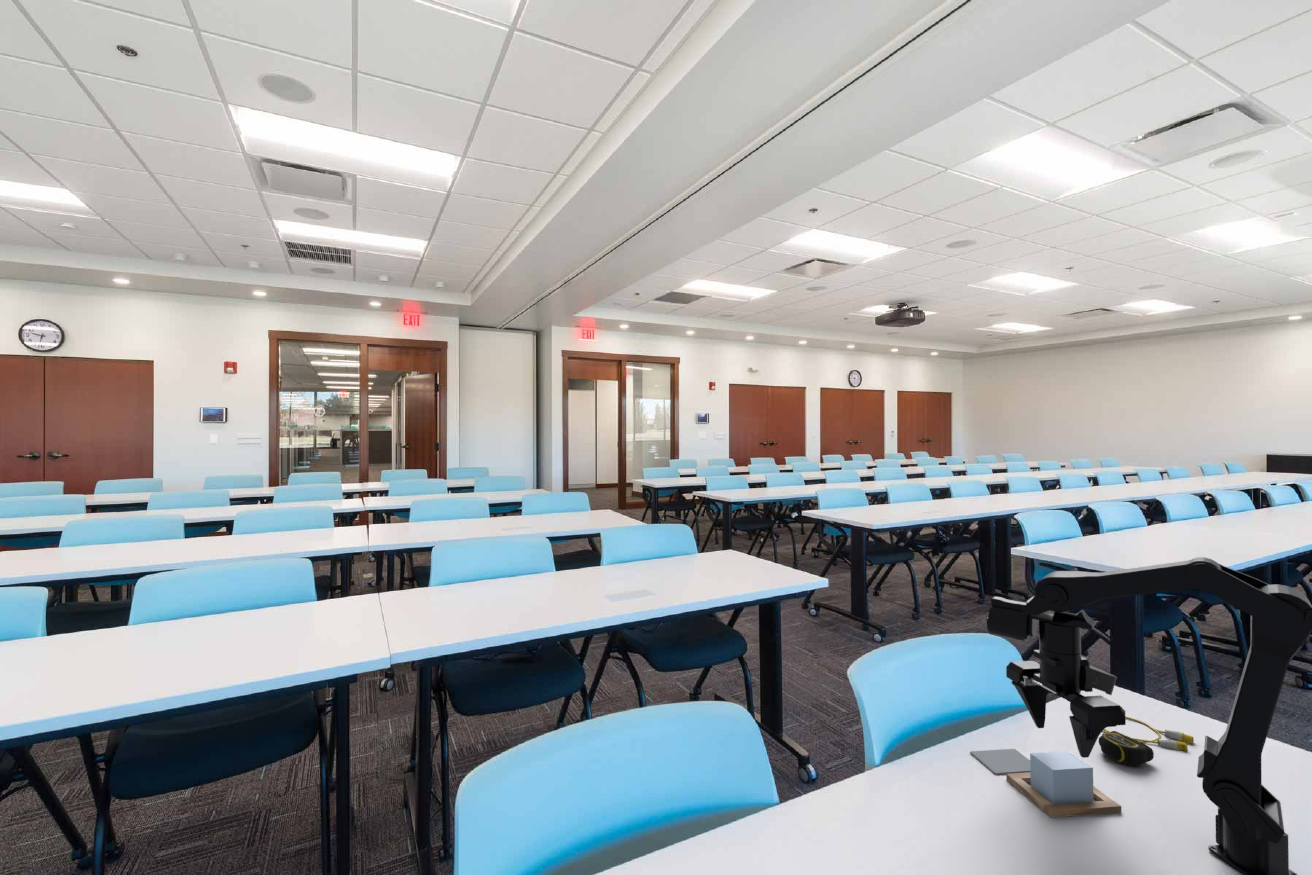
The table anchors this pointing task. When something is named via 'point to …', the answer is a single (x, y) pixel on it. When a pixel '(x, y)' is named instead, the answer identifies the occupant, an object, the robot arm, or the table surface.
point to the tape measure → (1125, 749)
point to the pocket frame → (1068, 809)
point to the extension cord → (1169, 743)
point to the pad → (1003, 761)
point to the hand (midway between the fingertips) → (1061, 741)
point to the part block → (1061, 777)
